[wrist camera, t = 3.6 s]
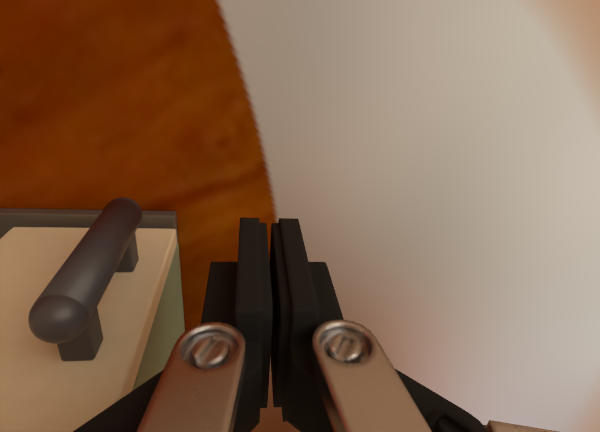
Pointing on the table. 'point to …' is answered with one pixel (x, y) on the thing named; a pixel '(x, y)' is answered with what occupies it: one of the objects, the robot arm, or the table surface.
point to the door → (76, 316)
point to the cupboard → (171, 302)
